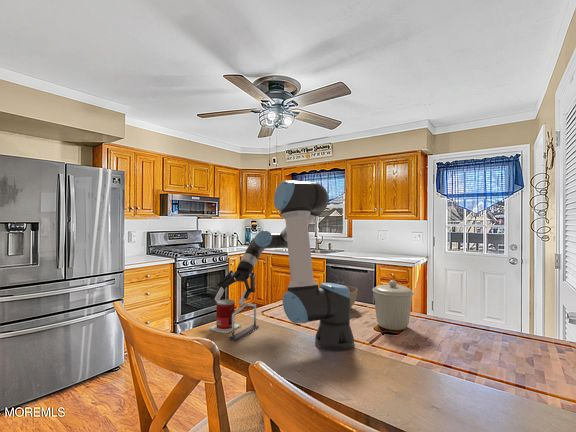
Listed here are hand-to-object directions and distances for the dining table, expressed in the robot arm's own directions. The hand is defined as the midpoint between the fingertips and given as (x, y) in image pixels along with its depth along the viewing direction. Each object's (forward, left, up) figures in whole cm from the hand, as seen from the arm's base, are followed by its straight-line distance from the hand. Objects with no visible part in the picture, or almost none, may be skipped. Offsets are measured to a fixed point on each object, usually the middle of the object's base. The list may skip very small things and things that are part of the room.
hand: (228, 302), depth 146 cm
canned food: (-1, +3, -10) cm, 10 cm away
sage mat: (-1, +3, -11) cm, 11 cm away
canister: (-66, -35, -11) cm, 75 cm away
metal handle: (-12, +4, -11) cm, 17 cm away
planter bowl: (-37, -52, -11) cm, 65 cm away
